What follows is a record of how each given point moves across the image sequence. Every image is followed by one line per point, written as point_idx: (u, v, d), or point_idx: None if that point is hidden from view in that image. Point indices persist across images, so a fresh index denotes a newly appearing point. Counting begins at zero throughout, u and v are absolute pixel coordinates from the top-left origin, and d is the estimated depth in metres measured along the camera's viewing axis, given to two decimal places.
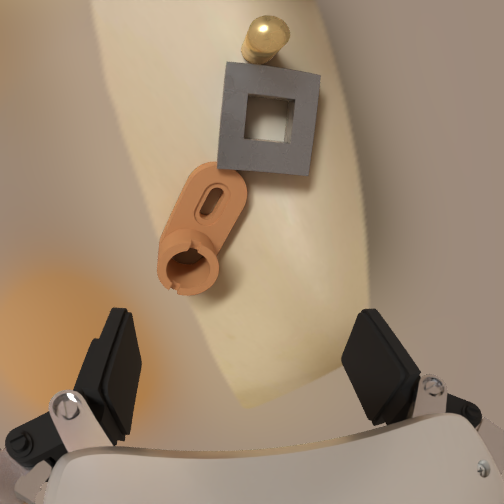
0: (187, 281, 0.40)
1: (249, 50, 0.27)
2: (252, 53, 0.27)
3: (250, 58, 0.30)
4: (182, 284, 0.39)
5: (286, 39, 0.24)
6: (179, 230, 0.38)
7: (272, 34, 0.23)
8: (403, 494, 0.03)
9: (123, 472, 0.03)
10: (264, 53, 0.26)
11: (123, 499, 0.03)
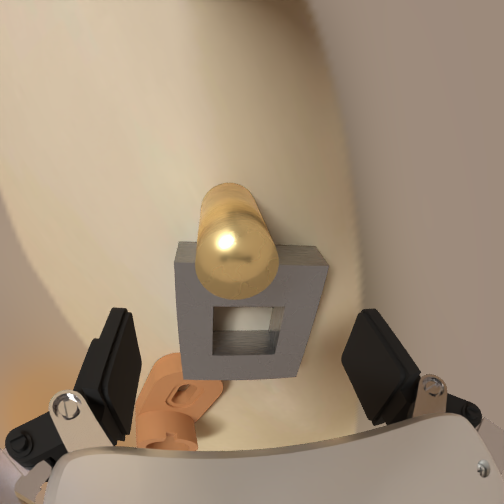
0: (168, 444, 0.32)
1: None
2: None
3: None
4: (163, 449, 0.32)
5: (270, 276, 0.15)
6: (153, 412, 0.30)
7: (242, 271, 0.15)
8: (403, 494, 0.03)
9: (123, 472, 0.03)
10: None
11: (123, 499, 0.03)
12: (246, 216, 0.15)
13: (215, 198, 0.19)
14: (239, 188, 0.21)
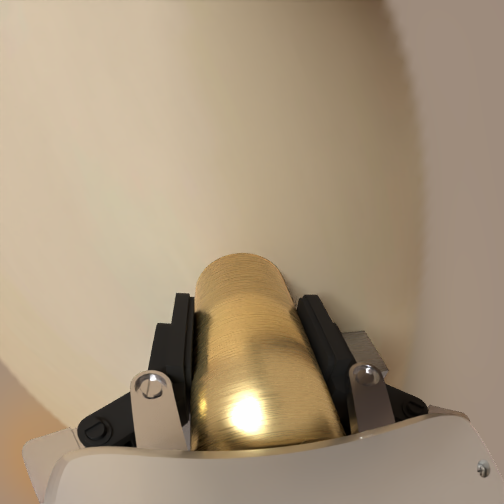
0: None
1: None
2: None
3: None
4: None
5: None
6: None
7: None
8: (403, 494, 0.03)
9: (123, 472, 0.03)
10: None
11: (123, 499, 0.03)
12: (292, 385, 0.07)
13: (220, 300, 0.10)
14: (261, 269, 0.12)
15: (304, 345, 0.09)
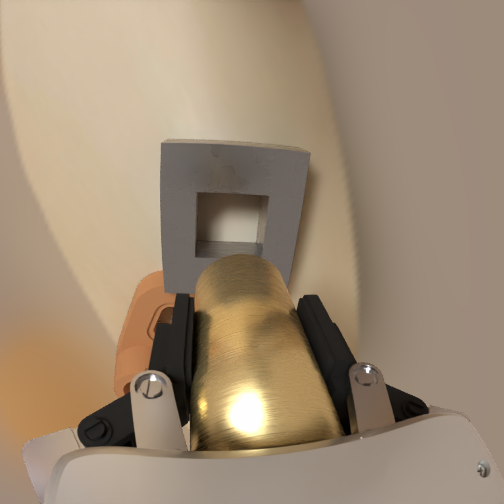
0: None
1: None
2: None
3: None
4: None
5: None
6: (134, 348, 0.30)
7: None
8: (403, 494, 0.03)
9: (123, 472, 0.03)
10: None
11: (123, 499, 0.03)
12: (292, 386, 0.07)
13: (220, 301, 0.10)
14: (261, 269, 0.12)
15: (304, 346, 0.09)
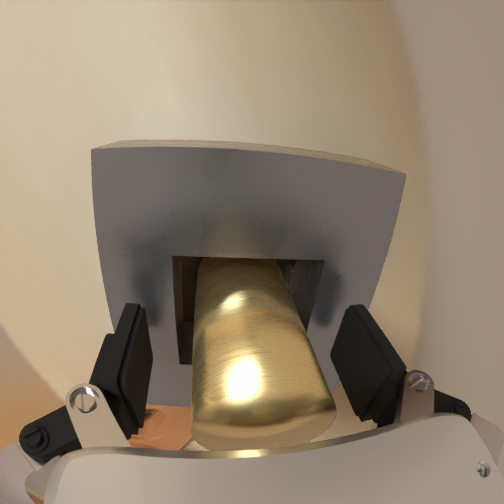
0: None
1: None
2: None
3: None
4: None
5: (318, 432, 0.08)
6: None
7: (273, 433, 0.07)
8: (403, 494, 0.03)
9: (123, 472, 0.03)
10: None
11: (123, 499, 0.03)
12: (282, 345, 0.08)
13: (219, 278, 0.11)
14: None
15: (294, 316, 0.10)
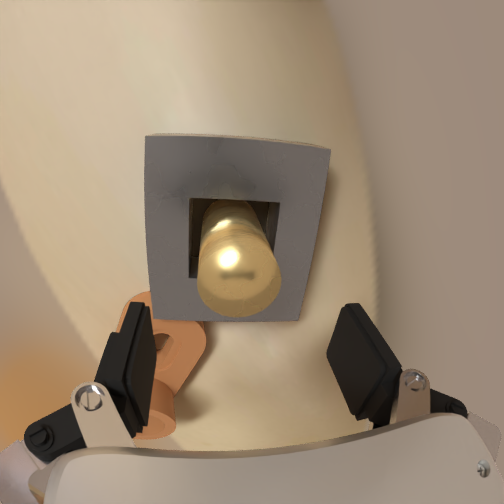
0: None
1: None
2: None
3: None
4: None
5: (273, 294, 0.15)
6: None
7: (244, 289, 0.15)
8: (403, 494, 0.03)
9: (123, 472, 0.03)
10: None
11: (123, 499, 0.03)
12: (248, 234, 0.15)
13: (217, 213, 0.19)
14: (240, 203, 0.21)
15: (259, 229, 0.17)
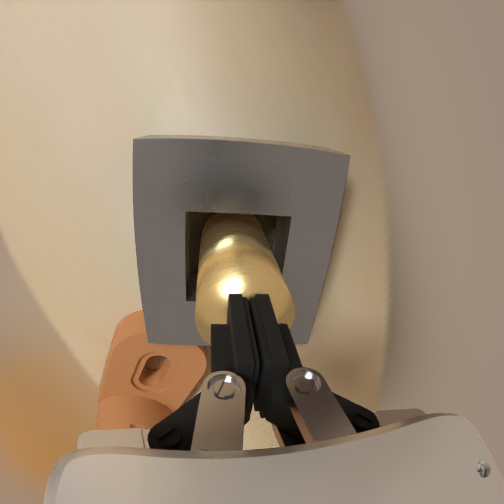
0: None
1: None
2: None
3: None
4: None
5: None
6: (117, 397, 0.23)
7: None
8: (403, 494, 0.03)
9: (123, 472, 0.03)
10: None
11: (123, 499, 0.03)
12: (256, 258, 0.13)
13: (217, 229, 0.16)
14: (245, 215, 0.18)
15: (267, 249, 0.15)
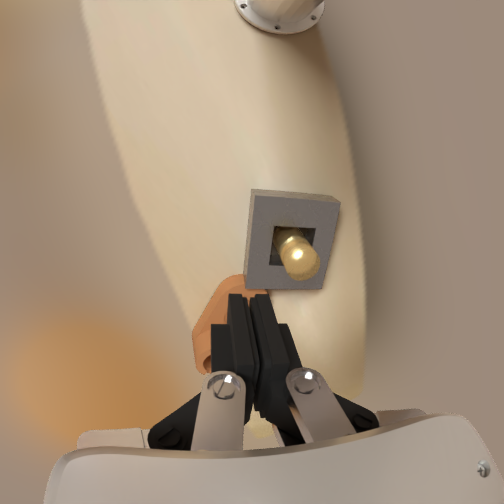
0: None
1: None
2: None
3: None
4: None
5: (316, 270, 0.35)
6: None
7: (305, 267, 0.35)
8: (403, 494, 0.03)
9: (123, 472, 0.03)
10: None
11: (123, 499, 0.03)
12: (306, 244, 0.36)
13: (285, 233, 0.39)
14: (294, 227, 0.41)
15: (307, 241, 0.38)
